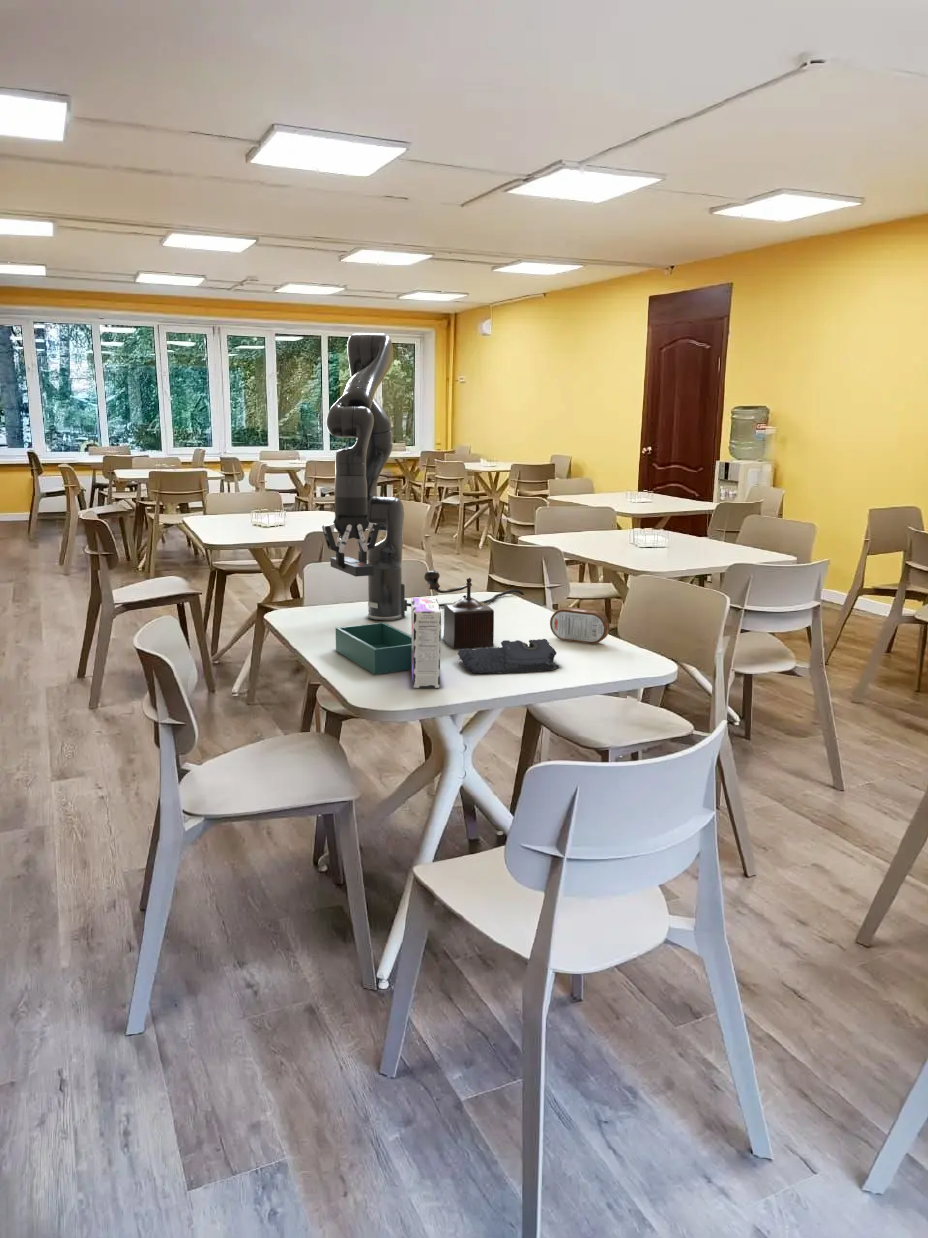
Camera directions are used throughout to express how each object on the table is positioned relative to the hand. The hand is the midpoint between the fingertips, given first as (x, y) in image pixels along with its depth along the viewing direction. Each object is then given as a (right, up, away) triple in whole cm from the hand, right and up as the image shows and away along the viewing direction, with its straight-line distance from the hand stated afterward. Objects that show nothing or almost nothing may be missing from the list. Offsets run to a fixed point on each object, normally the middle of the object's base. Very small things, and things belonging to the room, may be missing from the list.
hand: (351, 567), depth 209 cm
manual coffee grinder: (+25, -18, +10) cm, 33 cm away
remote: (0, -1, 0) cm, 1 cm away
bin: (+7, -21, -4) cm, 23 cm away
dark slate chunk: (+36, -23, -7) cm, 43 cm away
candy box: (+18, -25, -19) cm, 37 cm away
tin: (+55, -18, +14) cm, 60 cm away
